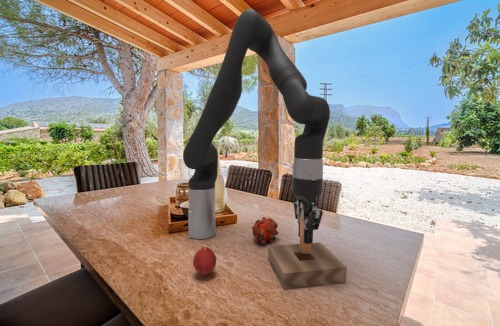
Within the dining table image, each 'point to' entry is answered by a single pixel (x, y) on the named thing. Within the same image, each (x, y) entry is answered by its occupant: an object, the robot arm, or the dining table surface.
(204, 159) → the robot arm
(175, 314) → the dining table surface
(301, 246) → the peg
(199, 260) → the onion
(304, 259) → the hole block
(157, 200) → the dining table surface
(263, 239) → the dragon fruit
